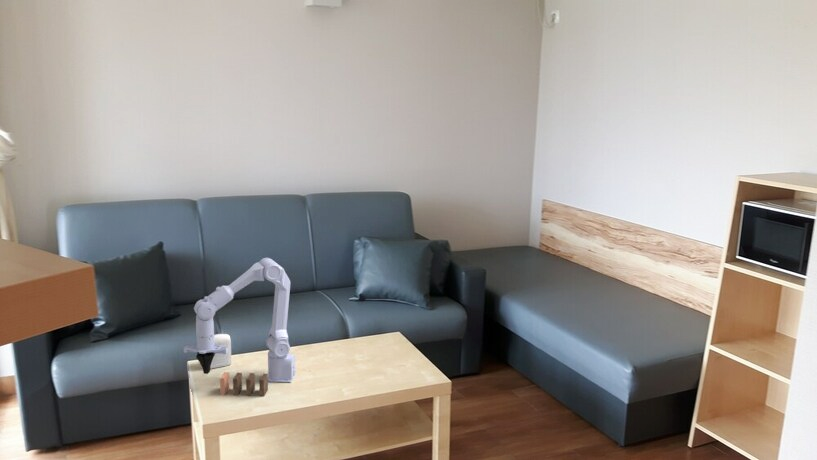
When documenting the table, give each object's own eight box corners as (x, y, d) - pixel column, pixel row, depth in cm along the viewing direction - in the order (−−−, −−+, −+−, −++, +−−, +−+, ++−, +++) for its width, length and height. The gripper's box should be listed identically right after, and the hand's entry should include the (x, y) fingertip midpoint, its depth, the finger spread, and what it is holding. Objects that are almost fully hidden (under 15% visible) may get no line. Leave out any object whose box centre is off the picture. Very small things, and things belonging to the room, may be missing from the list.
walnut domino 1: (242, 388, 215) (241, 372, 213) (237, 395, 210) (237, 379, 208) (237, 388, 215) (237, 372, 213) (233, 395, 210) (232, 378, 208)
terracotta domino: (229, 388, 215) (228, 372, 213) (224, 394, 210) (224, 378, 209) (225, 388, 215) (224, 372, 214) (220, 394, 210) (219, 378, 209)
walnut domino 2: (255, 389, 214) (254, 373, 213) (250, 395, 209) (250, 379, 208) (250, 389, 214) (250, 373, 213) (246, 395, 210) (246, 379, 208)
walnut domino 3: (267, 389, 214) (267, 373, 213) (264, 396, 209) (263, 380, 208) (263, 389, 214) (263, 373, 213) (259, 396, 209) (259, 379, 208)
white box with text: (229, 361, 237) (228, 330, 235) (233, 365, 234) (232, 334, 231) (202, 366, 232) (201, 335, 229) (205, 370, 228) (204, 339, 226)
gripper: (179, 338, 205) (181, 376, 207) (222, 340, 204) (223, 378, 207) (187, 330, 212) (189, 367, 214) (229, 332, 211) (230, 369, 214)
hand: (206, 372), depth 211 cm, fingers closed
